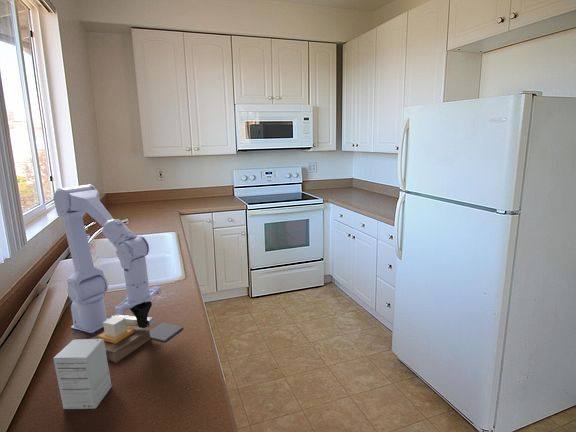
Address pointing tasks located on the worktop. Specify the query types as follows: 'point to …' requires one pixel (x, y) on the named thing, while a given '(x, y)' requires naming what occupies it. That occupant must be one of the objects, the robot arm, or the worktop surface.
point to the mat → (164, 331)
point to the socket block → (125, 344)
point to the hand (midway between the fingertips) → (143, 326)
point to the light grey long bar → (134, 320)
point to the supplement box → (83, 373)
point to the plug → (115, 330)
